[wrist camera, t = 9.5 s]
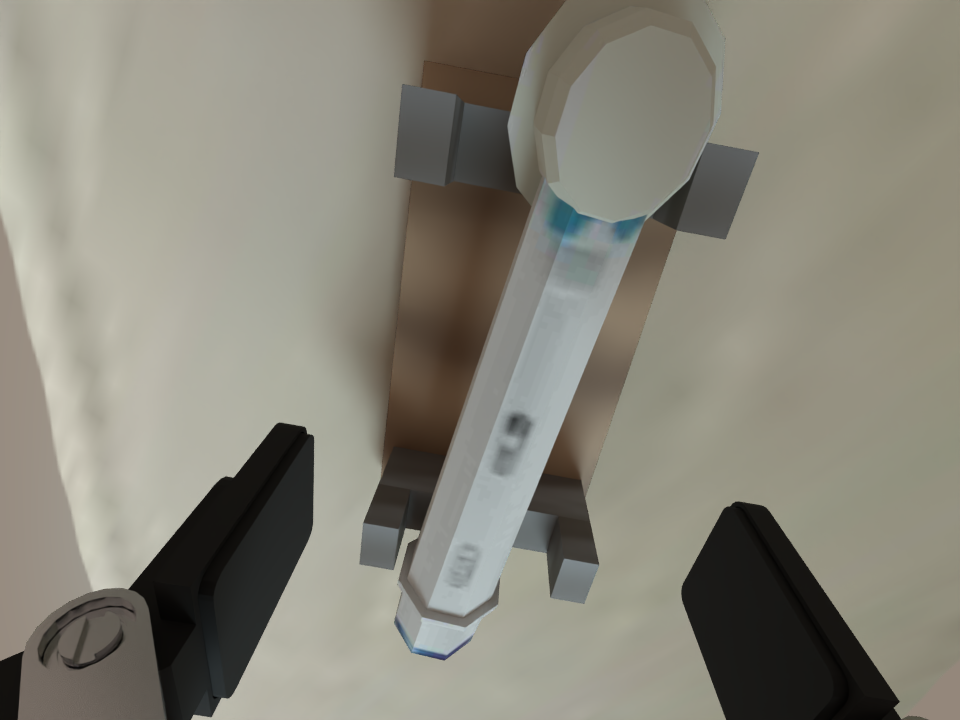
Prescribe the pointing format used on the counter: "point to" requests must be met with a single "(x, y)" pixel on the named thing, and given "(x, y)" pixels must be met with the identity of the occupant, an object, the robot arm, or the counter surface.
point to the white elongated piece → (559, 275)
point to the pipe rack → (474, 299)
